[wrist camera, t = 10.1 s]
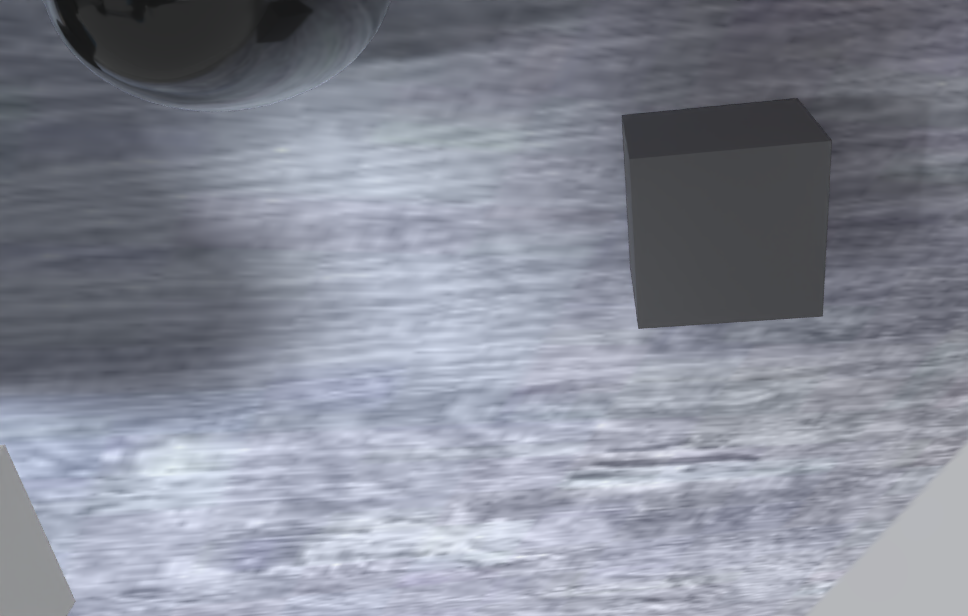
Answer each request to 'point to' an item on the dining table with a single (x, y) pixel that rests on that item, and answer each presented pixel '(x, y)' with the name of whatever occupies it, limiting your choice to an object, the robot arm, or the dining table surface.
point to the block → (727, 213)
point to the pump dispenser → (216, 46)
